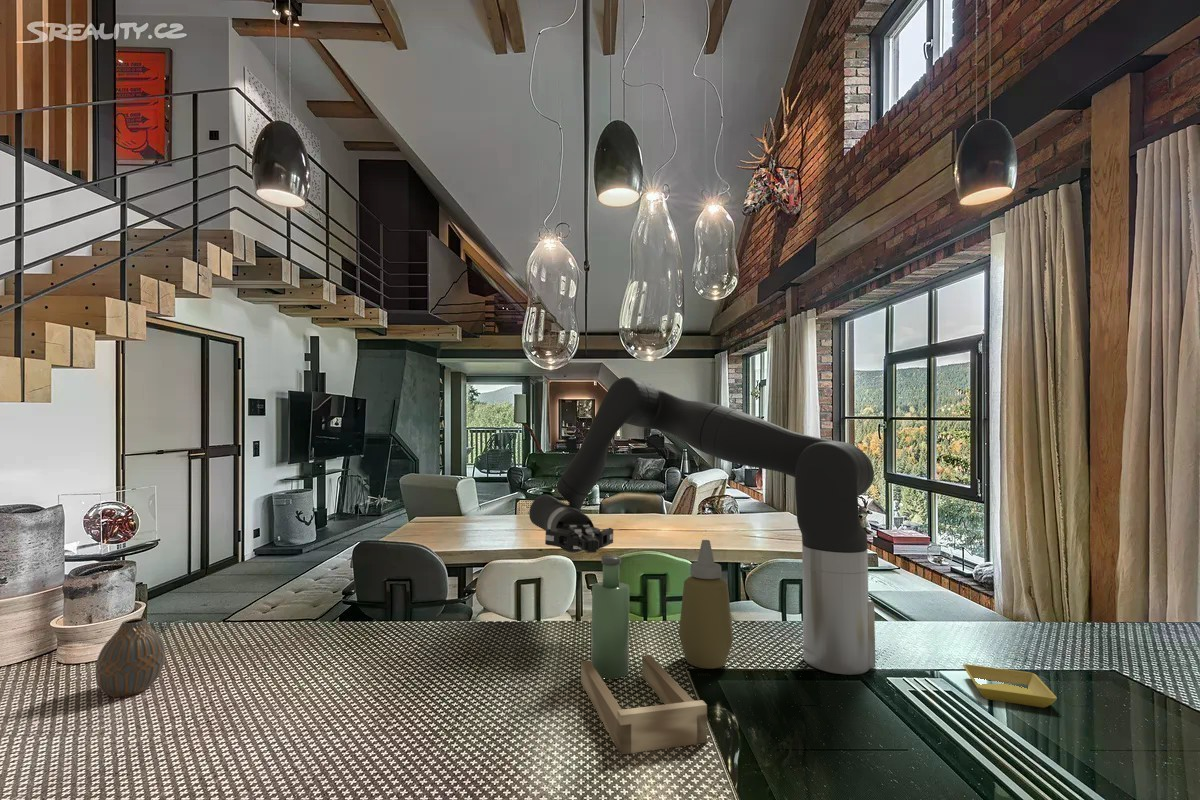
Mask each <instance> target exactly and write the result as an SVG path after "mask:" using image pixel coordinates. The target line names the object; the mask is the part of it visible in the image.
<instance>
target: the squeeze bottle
mask: <svg viewBox="0 0 1200 800" xmlns="http://www.w3.org/2000/svg"><path fill="white" fill-rule="evenodd" d="M689 569H690V570H689V572H690V573H689V574H690V576H688V577H687V578H686V579H685V580H684V581H683V588H682V589H683V591H682V599H681V600H682V601H681V609H680V620H679V626H678V627H679V630H678V637H679V640H680V644H681V648H682V651H683V653H684V657H685V660H686V662H687V663H688V664H689V665H690V666H694V667H696V668H700V669H710V670H711V669H720V668H722V667H724V666H725V665H726V664H727V663H726V662H727V660H728V656H729V654H730V651H731V647H732V645H733V641H734V633H733V624H732V614H731V604H730V603H731V602H730V595H729V584H728V583H727V581H726V580H724V579H723V578H721V577H722V565H721V564H719V563H716V562H715V559H714V555H713V551H712V545H711V541H710V540H709V539H702V540H701V543H700V548H699V552H698V557H697V561H694V562H691V563H690V566H689Z"/></svg>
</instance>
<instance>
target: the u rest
mask: <svg viewBox="0 0 1200 800" xmlns="http://www.w3.org/2000/svg"><path fill="white" fill-rule="evenodd" d="M641 656H642V657H641V659H642V660H641V678H642V679H643V681H644V680H645V681H646V682H647V683H648V684H647V683H646V682H645V681H644V682H645V683H646V684H647V686H648V687H649V686H650V687H651V688H652V689H653V690H654V691H653V690H652V689H651V688H650V687H649V688H650V689H651V690H652V691H653V693H654V692H655V693H656V694H657V695H658V696H657V695H656V694H655V693H654V694H655V695H656V696H657V698H658V697H659V698H660V699H661V700H662V701H661V700H660V699H659V698H658V699H659V700H660V701H661V703H662V704H658V705H651V706H642V707H634V708H633V707H632V708H624V709H622V707H621V706H620V704H619V703H618V701H617V700H616V698H615V697H614V695H613V694H612V692H611V690H610V689H609V688H608V686H607V684H606V683H605V682H604V679H602V678H601V677H600V675H599V674H598V672H597V671H596V669H595V668H594V666H593V665H592V663H591V660H583V661H580V665H581V666H580V685H581V684H582V685H581V687H582V686H583V687H582V688H584V689H583V691H584V690H585V691H586V693H587V694H586V693H585V694H586V696H587V695H588V696H587V698H588V697H589V698H590V700H591V701H590V700H589V701H590V703H591V702H592V703H591V705H592V704H593V705H592V707H593V706H594V707H595V709H596V710H595V709H594V710H595V712H596V711H597V712H596V714H597V713H598V714H597V715H599V716H598V718H599V720H600V721H601V723H602V722H603V723H602V725H603V724H604V725H603V726H604V728H605V730H606V732H607V734H608V733H609V734H608V736H609V737H610V739H611V741H612V742H613V744H614V746H615V747H616V750H617V752H618V753H619V755H628V754H634V753H635V754H636V753H642V752H649V751H650V752H651V751H657V750H663V749H671V748H672V749H673V748H678V747H683V746H684V747H685V746H691V745H698V744H705V743H708V704H707V703H706V702H705V701H704V700H702V699H700V700H699V699H698V700H694V699H693V698H692V697H691V696H690V694H689V693H687V692H686V690H685V689H683V688H682V687H681V686H680V684H679V683H678V682H677V681H676V680H675V679H674V678H673V676H671V675H670V674H669V673H668V672H667V671H666V669H664V668H663V666H661V664H660V663H659V662H658V661H657V660H656V659H655V658H654V657H653V656H652V655H651V654H645V655H641ZM585 691H584V692H585ZM589 698H588V699H589ZM663 703H664V704H665V705H664V704H663ZM594 707H593V708H594Z"/></svg>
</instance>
